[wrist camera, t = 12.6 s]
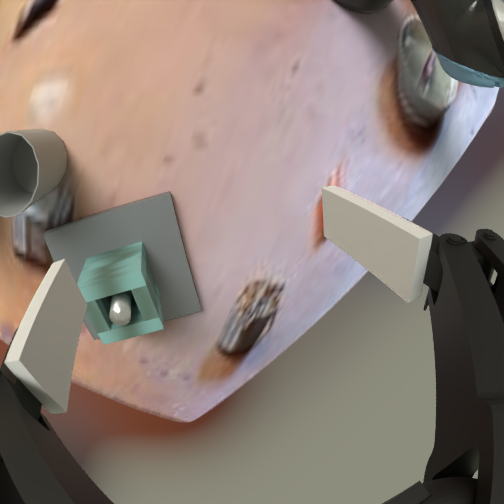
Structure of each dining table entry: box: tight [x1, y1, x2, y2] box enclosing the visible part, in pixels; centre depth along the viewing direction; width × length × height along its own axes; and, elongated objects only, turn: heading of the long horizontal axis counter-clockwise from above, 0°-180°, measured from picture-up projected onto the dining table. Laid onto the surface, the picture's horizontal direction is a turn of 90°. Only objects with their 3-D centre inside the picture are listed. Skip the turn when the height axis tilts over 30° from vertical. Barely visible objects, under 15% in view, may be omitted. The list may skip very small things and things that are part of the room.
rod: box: [109, 290, 132, 326], centre depth 31 cm, size 2×2×9 cm
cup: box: [0, 129, 68, 218], centre depth 22 cm, size 8×8×10 cm
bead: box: [77, 242, 164, 344], centre depth 32 cm, size 8×8×8 cm
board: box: [43, 192, 202, 340], centre depth 36 cm, size 18×18×2 cm
